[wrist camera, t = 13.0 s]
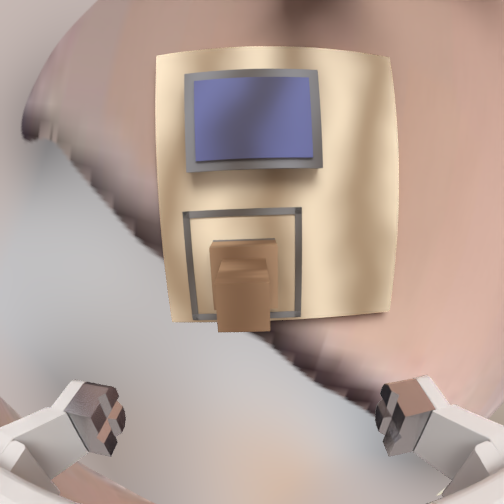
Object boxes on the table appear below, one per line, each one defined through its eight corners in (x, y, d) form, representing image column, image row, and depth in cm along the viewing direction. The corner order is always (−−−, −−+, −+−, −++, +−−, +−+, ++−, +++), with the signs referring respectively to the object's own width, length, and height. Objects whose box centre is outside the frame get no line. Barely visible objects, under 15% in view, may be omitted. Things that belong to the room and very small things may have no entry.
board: (384, 61, 19) (398, 50, 17) (384, 306, 25) (397, 320, 22) (160, 60, 19) (150, 48, 17) (175, 316, 25) (167, 332, 22)
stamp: (274, 238, 22) (285, 266, 15) (275, 295, 23) (284, 342, 16) (213, 240, 22) (197, 269, 15) (217, 296, 23) (205, 344, 16)
